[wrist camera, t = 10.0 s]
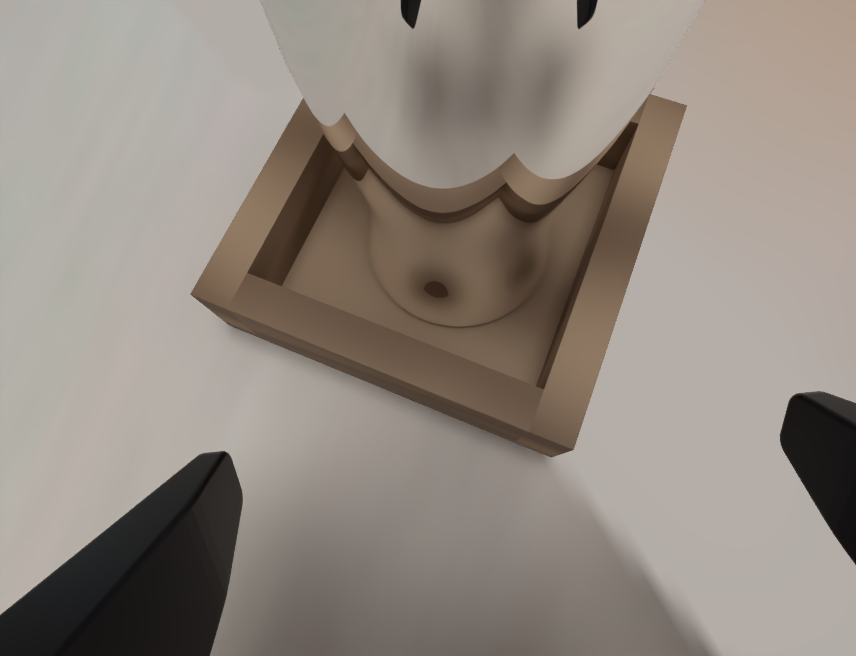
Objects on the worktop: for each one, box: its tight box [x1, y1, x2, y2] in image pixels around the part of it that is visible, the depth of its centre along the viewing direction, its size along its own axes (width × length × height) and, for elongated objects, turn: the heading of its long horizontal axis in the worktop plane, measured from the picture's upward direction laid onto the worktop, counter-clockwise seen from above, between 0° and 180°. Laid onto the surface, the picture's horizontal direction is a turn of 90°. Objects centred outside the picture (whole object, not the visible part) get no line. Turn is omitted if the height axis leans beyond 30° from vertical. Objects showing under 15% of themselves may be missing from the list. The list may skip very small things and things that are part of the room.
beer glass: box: [260, 0, 705, 327], centre depth 11 cm, size 7×7×15 cm
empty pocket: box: [191, 94, 687, 457], centre depth 17 cm, size 11×11×3 cm
